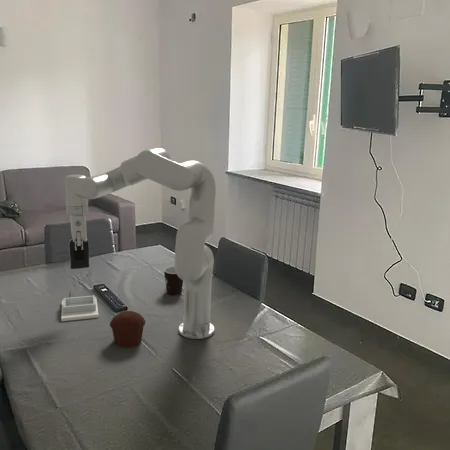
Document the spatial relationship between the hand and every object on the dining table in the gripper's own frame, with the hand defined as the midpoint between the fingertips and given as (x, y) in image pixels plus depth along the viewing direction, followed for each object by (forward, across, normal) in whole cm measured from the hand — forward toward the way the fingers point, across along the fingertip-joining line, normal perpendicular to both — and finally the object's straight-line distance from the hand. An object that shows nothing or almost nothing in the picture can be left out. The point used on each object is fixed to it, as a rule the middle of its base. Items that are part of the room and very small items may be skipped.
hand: (79, 257), depth 169 cm
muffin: (+22, -27, -14) cm, 37 cm away
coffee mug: (+22, +11, -38) cm, 46 cm away
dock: (+22, +7, +1) cm, 23 cm away
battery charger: (+4, 0, 0) cm, 4 cm away
